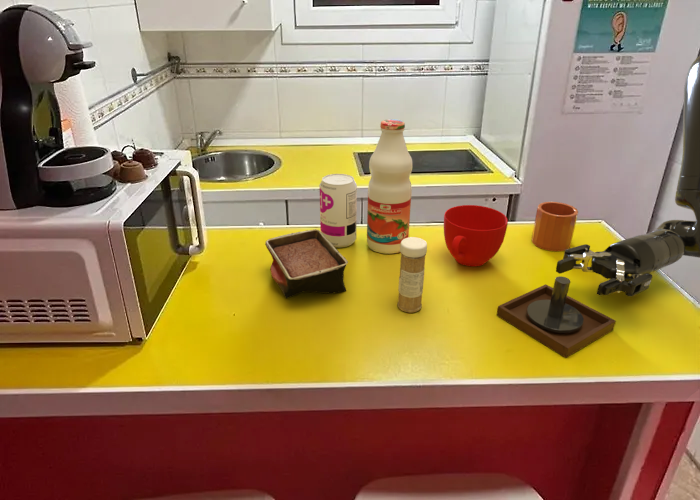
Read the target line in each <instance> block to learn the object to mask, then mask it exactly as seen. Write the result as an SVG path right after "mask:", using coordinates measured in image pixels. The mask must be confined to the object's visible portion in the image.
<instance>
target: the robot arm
mask: <svg viewBox="0 0 700 500" xmlns="http://www.w3.org/2000/svg"><path fill="white" fill-rule="evenodd" d="M682 115H683V116H682V117H683V118H682V122H683V123H682V154H681V155H682V156H681V164H680V169H679V174H678V180H677V184H676V191H675V196H674V202H675V203H674V204H676V206H678V207H680V208H683V209H687V210H691V211H692V212H693V214H694V217H695V220H686V219H669V220H665V221H663V222H662V223H661V224H660V225H658V226H657V227H656V228H655V229H654V230H653V231H650V232H647V233H644V234H638V235H635V236H632V237H629V238H625V239H623V240H620V241H617V242H614V243H611V244H609V246H608V247H606V248H605V249H604V250H603V251H594V250H593V251H592V250H591V245H590V244H581V245H577V246H573V247H570V248H569V249H566V250H565V251H564V252H563V258H562V259H560V260H558V261H557V263H556V267H555V273H557V274H559V275H560V274H564V273H567V272H569V271H572V270H581V271H582V272H583V273H595V274H596V275H600V276H601V277H603V278H604V279H606V280H605V281H602V282H600V283H599V284H598V286H597V290H596V295H597V296H599V297H604V296H609V295H611V294H614V293H617V294H619V293H620V294H621V293H624V295H625V296H626V297H630V298H631V297H634V296H637V295H638V294H640V293H642V292H644V291H647V290H648V289H649V288H650V285H651V283H652V279H653V274H654V273H656V272H658V271H660V270H661V269H663V268H666V267H668V266H670V265H673V264H675V263H676V262H678V261H679V260H680V259H681V258H683V256H686V257H691V258H692V257H693V258H698V259H699V258H700V55H699V56H698V57H697V58H695V59H694V61H693V62H692V64H690V66H689V69H688V71H687V73H686V77H685V81H684V87H683V114H682ZM590 260H591V261H590ZM579 261H581V263H577V262H579ZM589 261H590V262H591V263H590V266H589Z"/></svg>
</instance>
